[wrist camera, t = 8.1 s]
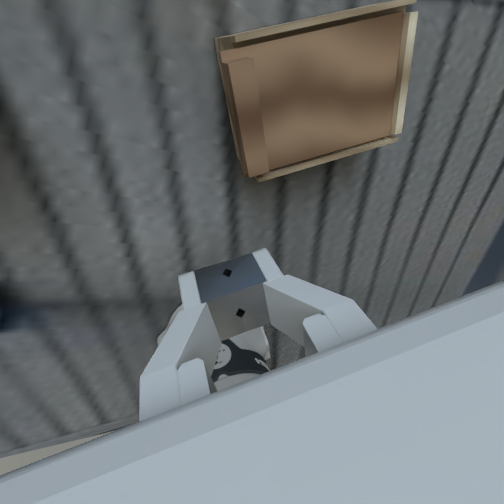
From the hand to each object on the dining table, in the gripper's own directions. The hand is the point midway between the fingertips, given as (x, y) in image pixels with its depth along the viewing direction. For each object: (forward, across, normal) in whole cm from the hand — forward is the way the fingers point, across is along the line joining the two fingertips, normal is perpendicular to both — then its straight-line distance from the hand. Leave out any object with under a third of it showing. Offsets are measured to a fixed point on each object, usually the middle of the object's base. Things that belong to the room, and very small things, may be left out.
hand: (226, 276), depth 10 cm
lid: (+20, -14, 0) cm, 24 cm away
